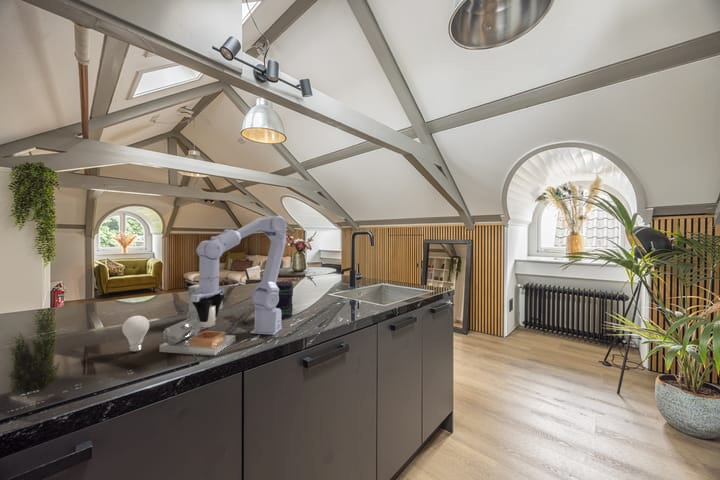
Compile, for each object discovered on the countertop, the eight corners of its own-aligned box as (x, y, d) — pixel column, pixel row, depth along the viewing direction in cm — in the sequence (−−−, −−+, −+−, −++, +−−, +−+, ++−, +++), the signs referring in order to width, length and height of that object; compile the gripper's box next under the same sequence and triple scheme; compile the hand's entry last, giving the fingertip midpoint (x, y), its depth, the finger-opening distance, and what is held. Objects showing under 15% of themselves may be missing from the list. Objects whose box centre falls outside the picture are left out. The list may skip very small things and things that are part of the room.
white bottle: (218, 323, 96) (218, 301, 96) (208, 327, 92) (209, 304, 92) (206, 322, 97) (206, 301, 97) (196, 326, 93) (197, 304, 93)
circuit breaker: (224, 315, 131) (225, 282, 131) (204, 325, 117) (205, 287, 117) (208, 314, 132) (209, 281, 132) (187, 324, 118) (187, 286, 117)
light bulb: (127, 357, 85) (127, 320, 85) (118, 352, 89) (118, 316, 88) (153, 350, 91) (153, 315, 90) (143, 345, 94) (143, 312, 94)
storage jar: (275, 313, 137) (276, 281, 137) (295, 314, 136) (296, 282, 135) (265, 319, 127) (266, 284, 127) (287, 320, 126) (288, 285, 126)
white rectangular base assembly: (235, 341, 100) (235, 319, 100) (214, 355, 88) (214, 330, 88) (186, 338, 102) (186, 316, 102) (159, 351, 90) (159, 327, 90)
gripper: (211, 274, 102) (210, 312, 102) (181, 280, 88) (181, 325, 88) (230, 275, 101) (229, 313, 101) (203, 281, 87) (203, 326, 87)
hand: (208, 319), depth 95 cm, fingers closed on white bottle, 4 cm apart
